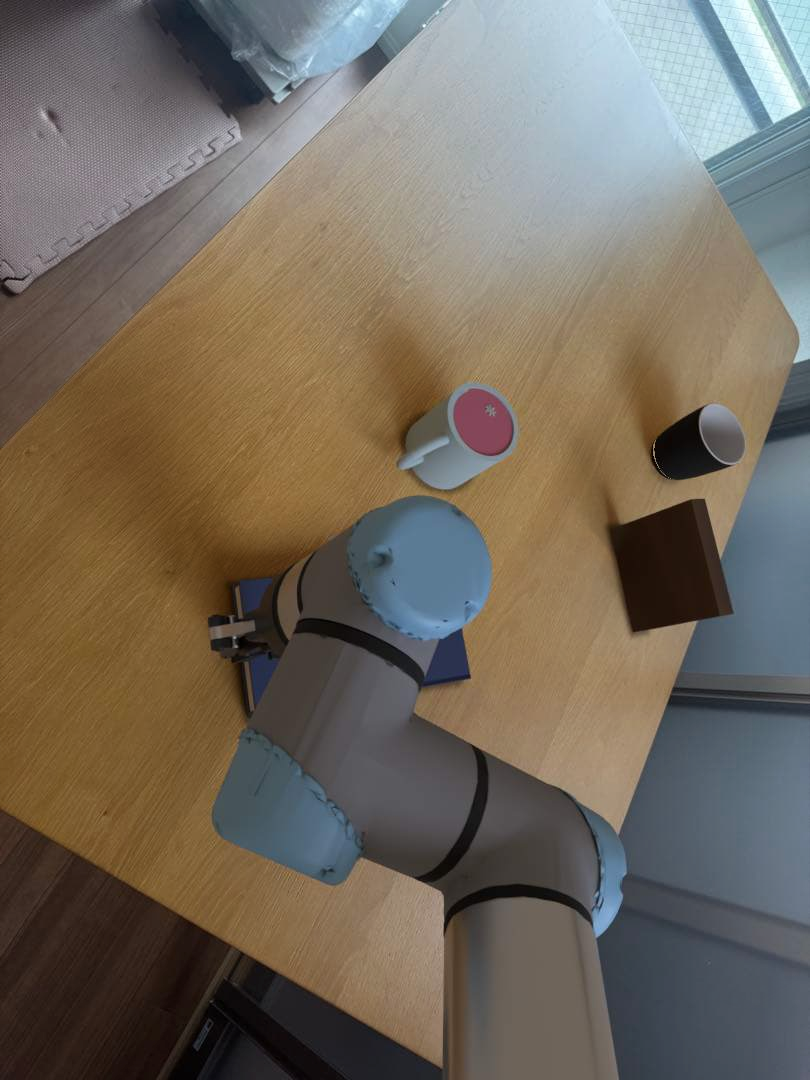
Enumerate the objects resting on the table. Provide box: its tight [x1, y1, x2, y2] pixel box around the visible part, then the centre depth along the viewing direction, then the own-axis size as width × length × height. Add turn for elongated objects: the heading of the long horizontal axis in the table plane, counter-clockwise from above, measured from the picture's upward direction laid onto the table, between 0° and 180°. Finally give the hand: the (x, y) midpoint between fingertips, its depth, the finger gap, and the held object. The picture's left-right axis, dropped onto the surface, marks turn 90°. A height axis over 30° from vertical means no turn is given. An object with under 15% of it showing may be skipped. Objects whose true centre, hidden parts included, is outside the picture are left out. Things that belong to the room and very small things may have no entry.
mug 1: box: [395, 381, 519, 490], centre depth 83 cm, size 14×9×10 cm
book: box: [231, 577, 472, 719], centre depth 76 cm, size 24×13×3 cm, turn 99°
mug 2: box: [650, 402, 747, 481], centre depth 103 cm, size 12×9×10 cm
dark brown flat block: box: [609, 498, 735, 633], centre depth 91 cm, size 2×14×14 cm, turn 9°
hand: (237, 648), depth 70 cm, fingers closed
